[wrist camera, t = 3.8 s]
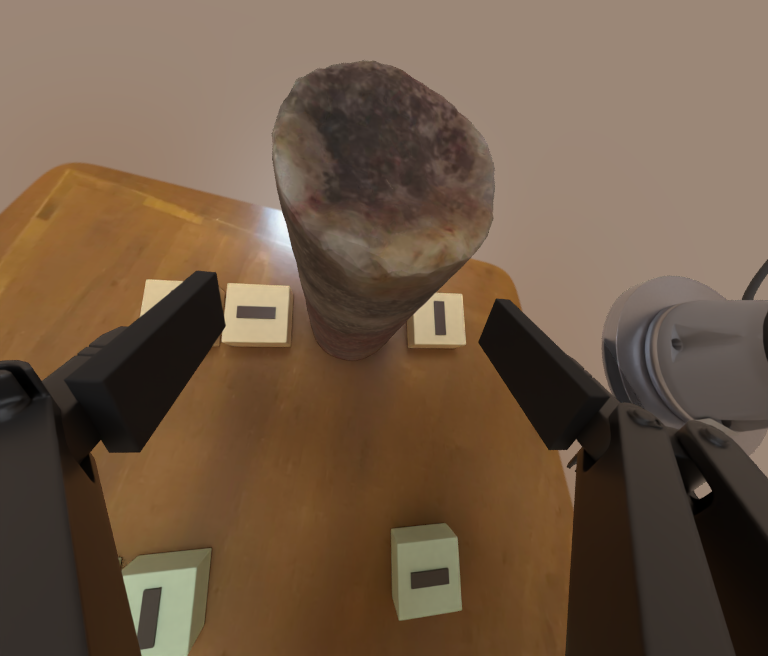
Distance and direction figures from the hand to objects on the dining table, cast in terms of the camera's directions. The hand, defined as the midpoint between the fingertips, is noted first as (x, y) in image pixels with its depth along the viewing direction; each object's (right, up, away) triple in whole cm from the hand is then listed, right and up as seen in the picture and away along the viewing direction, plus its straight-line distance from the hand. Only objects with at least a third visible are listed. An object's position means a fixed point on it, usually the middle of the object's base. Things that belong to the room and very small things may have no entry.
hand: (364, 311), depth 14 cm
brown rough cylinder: (-2, 0, +14) cm, 14 cm away
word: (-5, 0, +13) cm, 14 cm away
